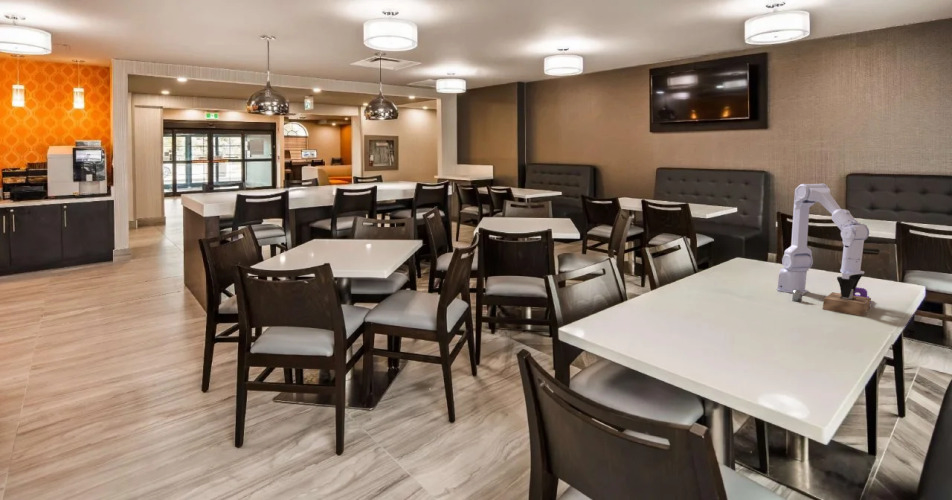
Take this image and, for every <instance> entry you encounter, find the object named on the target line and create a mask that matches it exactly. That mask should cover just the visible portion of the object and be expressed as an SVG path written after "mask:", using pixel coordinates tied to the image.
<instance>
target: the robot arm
mask: <svg viewBox="0 0 952 500" xmlns="http://www.w3.org/2000/svg"><path fill="white" fill-rule="evenodd" d="M793 199H794V200H793V215H792V226H791V227H792V228H791V245H790V246H789V247H788V248H786V249H785V250H784V254H783V256H782V258H781V262H782V263H781V264H782V268H780V270H779V272H778V278H777V279H778V281H777V289H776V291H777V292H783V293H791V294H793V290H801V291H803V295H804V294H806V293H807V292H809V289H806V283H807V275H808V273H807V272H808V271H809V270H810V269H811V268H812V267H813V263H814V259H813V256H812V255H813V254H812V252H813V251H812V250H811V249H810V248H809V247H808V235H809V234H808V233H809V220H810V219H809V217H810V207H812V206H813V205H815V204H817V203H819V204H820V205H821V206H822V207H824V209H826V210H827V211H828V213H830V214H831V217H830V218H831V220H832V222H833V223H834V224H835V226H836V227H837V228H838V229H839V230H840V237H841V239H842V245H843V248H842V249H843V250H842V256H841V258H842V259H841V267H840V269H839V271H840V273H841V276H837V277H836V280H837V283H838V284H839V288H840V293H841V296H842V297H846V298H849V296H850V293H851V290H852V289H853V294H854V292H855V289H856V287H857V286H858V284H859V282H860V279H861V278H862V277H863V275H864V274H865V271H864V270H861V268H862V260H863V254H864V253H863V252H864V251H863V250H864V244H865V243H864V242H865V241H866V240H867V239H868V237H869V235H870V229H869V228H868V226H867V224H865V223H861V222H858V220H857V219H855V217H854V216H853V215H852V214H851V211H849V210H848V209H846V208H844V209H843V208H841V206H840V205H839V204H838V203H837V201H836V200H835V198H834V197H833V195H831V189H830V188H829V186H827V184H825V183H801V184H799V185H798V186H797V187H796V188H795V189H794V198H793Z"/></svg>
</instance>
